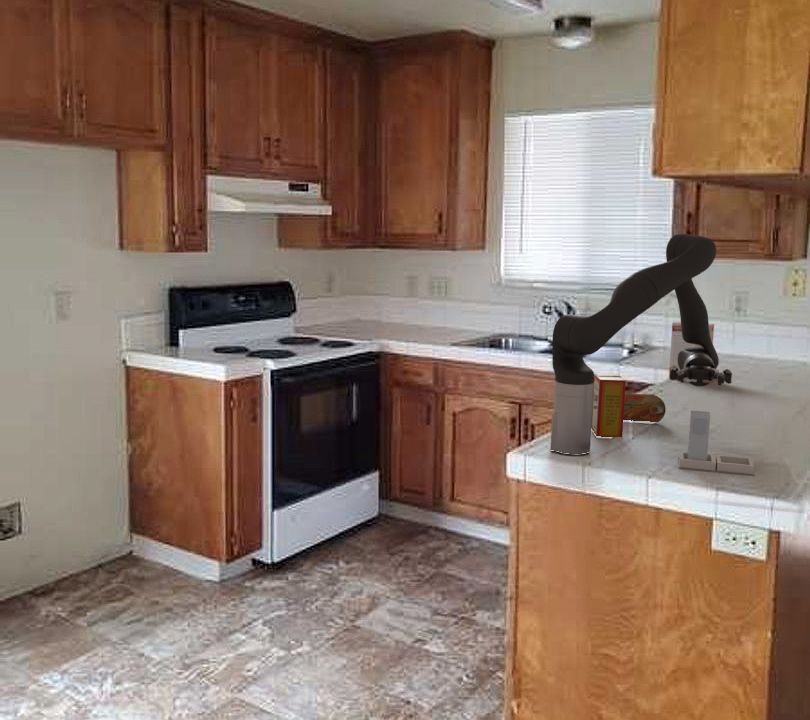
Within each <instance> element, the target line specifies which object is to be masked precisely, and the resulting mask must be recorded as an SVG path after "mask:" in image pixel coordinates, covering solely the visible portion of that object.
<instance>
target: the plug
mask: <svg viewBox="0 0 810 720" xmlns="http://www.w3.org/2000/svg"><path fill="white" fill-rule="evenodd" d="M710 420H711V412H710V411H704V410H703V411H702V410H701V411H700V410H690V420H689V435H688V447H687V450H688V451H687V452H688V459H691V460H702V461H707V454H708V453H709V451H708V450H709V448H708V447H709V439H710V438H709V437H710V423H711V421H710Z"/></svg>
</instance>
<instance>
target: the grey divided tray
mask: <svg viewBox="0 0 810 720" xmlns="http://www.w3.org/2000/svg"><path fill="white" fill-rule="evenodd" d="M677 457H678V458H677V461H678V462H677V463H678V465H677V467H678V470H682V471H683V470H685V471H695V472H703V473H704V472H706V473H712V474H713V473H714V474H715V473H716V474H724V475H725V474H726V475H737V476H743V477H744V476H745V477H756V475H755V472H754V471H755V463H754V461H753V459H752V457H745V456H737V455H735V456H734V455H724V454H712V453H707V461H702V460H691V459H688V451H679V456H677Z"/></svg>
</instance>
